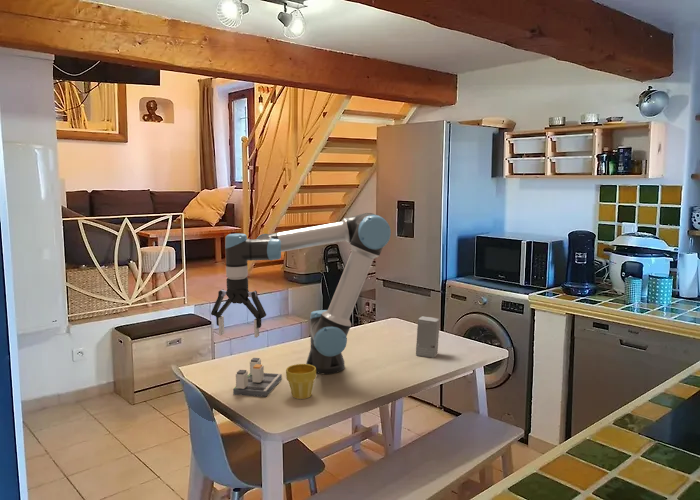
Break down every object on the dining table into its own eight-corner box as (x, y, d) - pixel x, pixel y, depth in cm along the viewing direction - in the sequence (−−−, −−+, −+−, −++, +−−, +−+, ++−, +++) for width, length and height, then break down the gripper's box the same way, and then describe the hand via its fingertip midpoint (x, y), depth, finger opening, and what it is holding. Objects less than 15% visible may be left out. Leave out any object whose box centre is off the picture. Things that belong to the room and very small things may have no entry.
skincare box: (415, 355, 235) (416, 319, 233) (420, 350, 242) (420, 315, 239) (435, 358, 232) (436, 321, 230) (439, 353, 238) (440, 317, 236)
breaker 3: (263, 379, 203) (263, 364, 202) (260, 382, 199) (260, 367, 199) (256, 378, 203) (255, 363, 203) (252, 382, 200) (252, 367, 199)
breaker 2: (261, 372, 210) (260, 357, 209) (257, 375, 206) (257, 360, 206) (253, 371, 210) (253, 357, 210) (250, 374, 207) (249, 360, 206)
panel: (281, 379, 209) (281, 373, 208) (265, 397, 192) (265, 391, 192) (251, 376, 211) (251, 371, 211) (233, 394, 195) (233, 388, 194)
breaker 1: (248, 385, 197) (247, 369, 196) (244, 388, 194) (243, 373, 193) (240, 384, 198) (239, 369, 197) (236, 388, 194) (235, 372, 194)
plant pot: (286, 390, 198) (286, 363, 197) (316, 389, 199) (315, 362, 198) (286, 402, 188) (285, 374, 187) (316, 401, 189) (316, 373, 188)
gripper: (274, 276, 199) (275, 334, 202) (209, 274, 204) (211, 330, 207) (266, 280, 191) (268, 340, 194) (199, 278, 197) (202, 336, 200)
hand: (239, 335), depth 201 cm, fingers open, 13 cm apart
